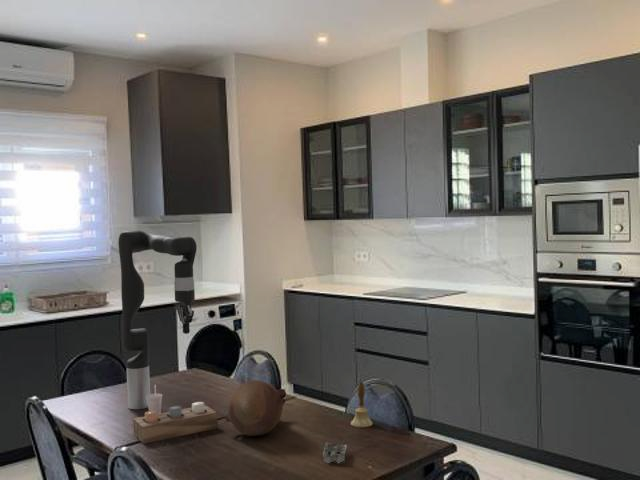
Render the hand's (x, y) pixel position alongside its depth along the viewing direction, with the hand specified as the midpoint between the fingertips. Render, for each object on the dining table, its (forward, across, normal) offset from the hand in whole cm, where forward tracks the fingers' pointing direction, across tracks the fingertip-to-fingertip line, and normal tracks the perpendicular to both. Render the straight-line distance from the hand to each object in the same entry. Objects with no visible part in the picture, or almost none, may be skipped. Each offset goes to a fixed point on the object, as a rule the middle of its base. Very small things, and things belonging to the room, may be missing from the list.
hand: (186, 333), depth 246 cm
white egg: (+32, +7, +1) cm, 33 cm away
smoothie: (+35, -12, -10) cm, 38 cm away
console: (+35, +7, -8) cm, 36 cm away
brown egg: (+32, +7, -17) cm, 37 cm away
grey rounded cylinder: (+32, +7, -8) cm, 34 cm away
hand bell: (+35, +42, +52) cm, 76 cm away
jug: (+35, +25, +19) cm, 47 cm away
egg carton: (+35, +64, +26) cm, 78 cm away
